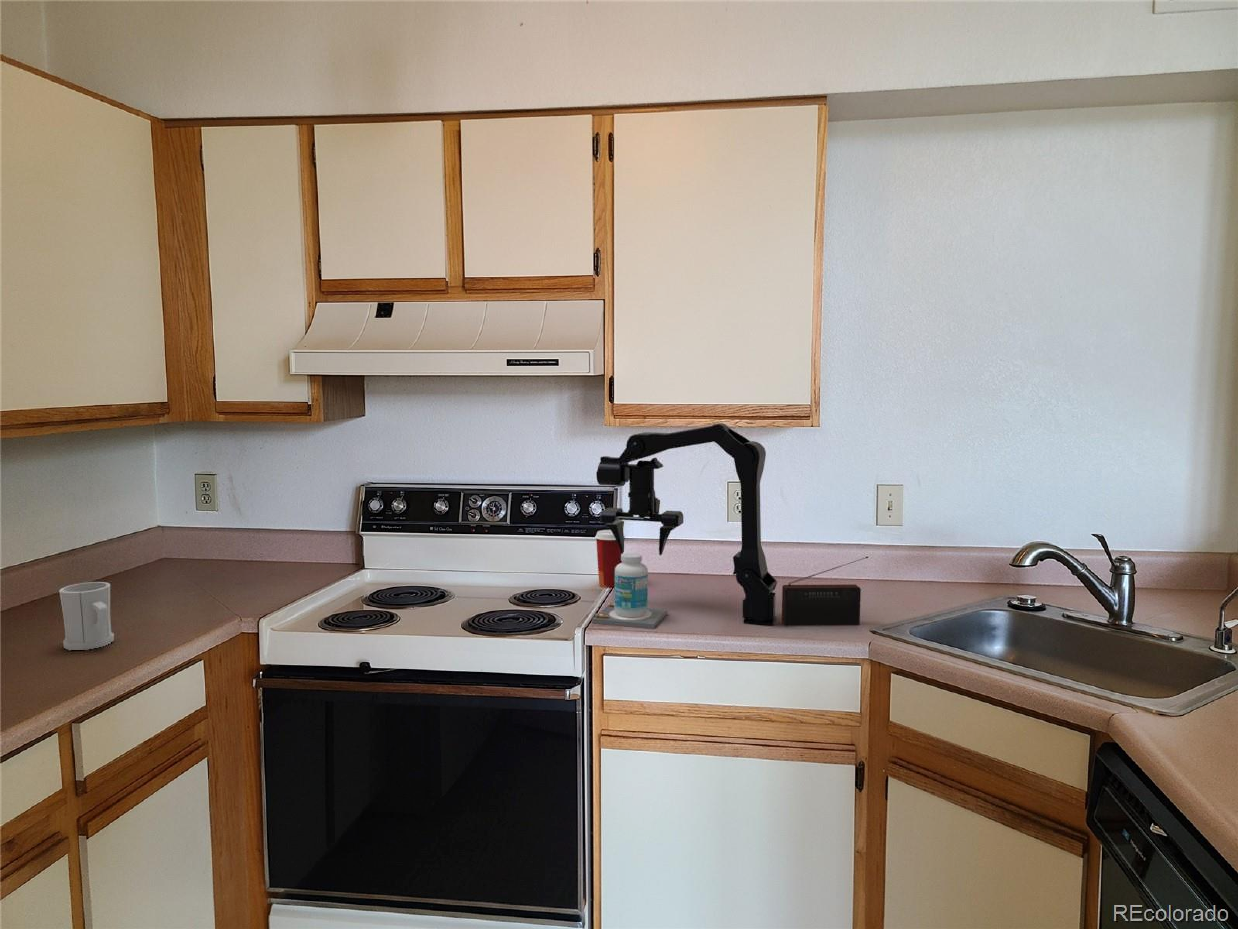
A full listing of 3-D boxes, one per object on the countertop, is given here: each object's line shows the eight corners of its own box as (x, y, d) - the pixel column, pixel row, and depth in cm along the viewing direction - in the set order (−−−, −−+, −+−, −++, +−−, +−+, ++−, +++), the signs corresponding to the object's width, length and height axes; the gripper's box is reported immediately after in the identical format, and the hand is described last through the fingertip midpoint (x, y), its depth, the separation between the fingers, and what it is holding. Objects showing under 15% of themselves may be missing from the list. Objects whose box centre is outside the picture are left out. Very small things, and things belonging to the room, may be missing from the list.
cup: (131, 637, 179) (127, 581, 178) (106, 651, 170) (102, 592, 169) (80, 638, 179) (76, 581, 178) (52, 652, 170) (48, 593, 169)
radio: (784, 626, 187) (786, 559, 185) (781, 622, 190) (783, 556, 188) (869, 626, 187) (871, 558, 185) (865, 622, 190) (867, 555, 188)
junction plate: (667, 613, 196) (667, 606, 196) (653, 628, 185) (653, 620, 185) (609, 608, 200) (609, 601, 200) (592, 623, 189) (592, 615, 189)
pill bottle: (607, 612, 193) (607, 554, 191) (632, 607, 198) (632, 549, 196) (629, 620, 187) (629, 559, 186) (654, 614, 192) (654, 555, 190)
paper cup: (630, 584, 223) (630, 531, 222) (613, 590, 217) (613, 536, 216) (605, 580, 228) (605, 528, 226) (588, 586, 221) (588, 532, 220)
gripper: (689, 484, 203) (688, 549, 204) (613, 481, 208) (614, 544, 210) (678, 490, 192) (677, 559, 194) (599, 487, 198) (599, 553, 199)
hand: (641, 553), depth 199 cm, fingers open, 9 cm apart
